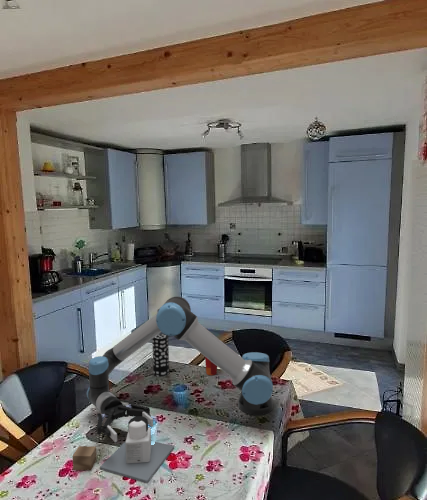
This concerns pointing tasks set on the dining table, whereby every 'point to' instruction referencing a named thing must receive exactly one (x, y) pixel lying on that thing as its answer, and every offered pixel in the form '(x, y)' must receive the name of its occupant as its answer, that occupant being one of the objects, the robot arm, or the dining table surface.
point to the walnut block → (84, 458)
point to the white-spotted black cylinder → (160, 355)
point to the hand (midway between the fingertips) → (134, 430)
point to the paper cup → (210, 367)
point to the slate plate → (137, 470)
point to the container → (138, 440)
